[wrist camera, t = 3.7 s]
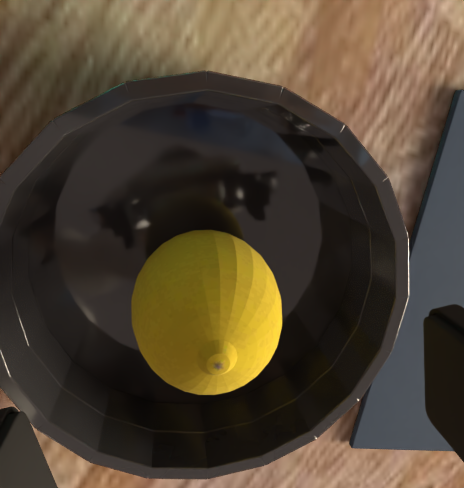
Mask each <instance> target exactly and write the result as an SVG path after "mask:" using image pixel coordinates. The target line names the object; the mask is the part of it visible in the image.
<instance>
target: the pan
mask: <svg viewBox="0 0 464 488" xmlns="http://www.w3.org/2000/svg"><path fill="white" fill-rule="evenodd" d="M194 230H214V231H219V232H225V233H228V234H230V235H232V236H234V237H237V238H239V239H241V240H243V241H245V242H246V243H247V244H248V245H249V246H251V247H252V248H253V249H254V250H255V251H256V252H258V253H259V254H260V255H261V257H262V258H263V259H264V261H265V262H266V264H267V265H268V267H269V268H270V270H271V271H272V273H273V275H274V278H275V281H276V284H277V287H278V290H279V293H280V296H281V304H282V329H281V333H280V337H279V342H278V345H277V348H276V350H275V352H274V354H273V356H272V358H271V360H270V361H269V363H268V364H267V365H266V366H265V368H264V369H263V370H262V371H261V372H260V373H259V374H258V376H256V377H255V378H254V379H252V380H251V381H250V382H248V383H247V384H245V385H244V386H241V387H239V388H237V389H235V390H233V391H230V392H226V393H221V394H216V395H198V394H194V393H189V392H185V391H182V390H180V389H178V388H176V387H174V386H172V385H170V384H168V383H167V382H165V381H164V380H163V379H162V378H161V377H160V376H158V375H157V374H156V373H155V372H154V371H153V370H152V369H151V367H150V366H149V364H148V363H147V361H146V360H145V358H144V357H143V355H142V353H141V351H140V349H139V346H138V343H137V340H136V337H135V334H134V331H133V327H132V312H131V300H132V295H133V291H134V287H135V283H136V279H137V276H138V274H139V273H140V271H141V269H142V267H143V266H144V264H145V262H146V261H147V259H148V258H149V257H150V256H151V255H152V254H153V253H154V252H155V251H156V250H157V249H158V248H159V247H160V246H161V245H162V244H163V243H165V242H167V241H168V240H170V239H172V238H173V237H175V236H177V235H180V234H183V233H187V232H190V231H194ZM408 299H409V235H408V232H407V229H406V226H405V224H404V221H403V218H402V215H401V212H400V209H399V206H398V203H397V200H396V197H395V195H394V192H393V189H392V186H391V183H390V180H389V178H387V175H386V174H385V172H384V171H383V170H382V169H381V167H380V166H379V165H378V164H377V162H376V161H375V160H374V159H373V157H372V156H371V155H370V154H369V152H368V151H367V150H366V149H365V147H364V146H363V145H362V144H361V142H360V141H359V140H358V139H357V137H356V136H355V135H354V134H353V133H352V131H351V130H350V129H349V128H348V126H346V125H345V124H344V123H343V122H341V121H340V120H338V119H336V118H335V117H333V116H331V115H330V114H328V113H327V112H325V111H323V110H322V109H320V108H318V107H317V106H315V105H313V104H312V103H310V102H308V101H307V100H305V99H304V98H302V97H300V96H299V95H297V94H295V93H294V92H292V91H290V90H289V89H287V88H285V87H282V86H280V85H275V84H270V83H265V82H260V81H256V80H251V79H246V78H241V77H236V76H231V75H227V74H222V73H217V72H212V71H207V72H206V71H198V72H190V73H183V74H176V75H168V76H161V77H154V78H146V79H139V80H132V81H126V83H121V84H119V85H117V86H115V87H113V88H111V89H110V90H108V91H106V92H104V93H102V94H100V95H98V96H96V97H94V98H92V99H90V100H88V101H86V102H84V103H83V104H81V105H79V106H77V107H75V108H73V109H71V110H69V111H67V112H65V113H63V114H61V115H59V116H57V117H56V118H54V119H53V121H50V122H49V123H48V124H47V125H46V126H45V127H44V128H43V130H42V131H41V132H40V133H39V134H38V135H37V136H36V137H35V138H34V139H33V141H32V142H31V143H30V144H29V145H28V146H27V147H26V148H25V149H24V150H23V151H22V153H21V154H20V155H19V156H18V157H17V158H16V159H15V160H14V161H13V162H12V164H11V165H10V166H9V167H8V168H7V169H6V170H5V171H4V172H3V173H2V174H1V176H0V388H1V389H2V390H3V391H4V393H5V394H6V395H7V396H8V397H9V398H10V400H11V401H12V402H13V403H14V404H15V405H16V407H17V408H18V409H19V410H20V411H23V412H25V413H26V415H27V417H28V419H29V421H30V423H31V424H32V425H33V426H34V428H36V429H37V430H38V431H39V432H41V433H43V434H44V435H46V436H48V437H49V438H51V439H52V440H54V441H56V442H57V443H59V444H61V445H62V446H64V447H65V448H67V449H69V450H70V451H72V452H74V453H75V454H77V455H78V456H80V457H82V458H83V459H85V460H87V461H89V462H90V463H93V464H97V465H101V466H104V467H108V468H111V469H115V470H119V471H122V472H126V473H129V474H133V475H137V476H140V477H144V478H149V479H207V478H208V479H211V478H215V477H219V476H223V475H228V474H232V473H236V472H240V471H244V470H249V469H253V468H257V467H261V466H264V465H267V464H269V463H271V462H273V461H275V460H277V459H279V458H281V457H283V456H285V455H287V454H289V453H291V452H293V451H295V450H297V449H298V448H300V447H302V446H304V445H306V444H308V443H310V442H312V441H314V440H316V438H318V437H319V436H320V435H322V434H323V433H324V432H325V431H326V430H327V429H328V428H330V427H331V426H332V425H333V424H334V423H335V422H336V421H337V420H339V419H340V418H341V417H342V416H343V415H344V414H345V413H347V412H348V411H349V410H350V409H351V408H352V407H353V406H354V405H356V404H357V403H358V402H359V400H361V398H362V397H363V395H364V394H365V392H366V391H367V389H368V388H369V386H370V385H371V383H372V382H373V380H374V379H375V377H376V376H377V374H378V373H379V371H380V370H381V368H382V367H383V365H384V364H385V362H386V361H387V359H388V358H389V356H390V355H391V352H392V350H393V347H394V344H395V341H396V338H397V334H398V331H399V328H400V325H401V322H402V318H403V315H404V312H405V309H406V306H407V303H408Z"/></svg>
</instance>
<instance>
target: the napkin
mask: <svg viewBox="0 0 464 488" xmlns="http://www.w3.org/2000/svg"><path fill="white" fill-rule="evenodd" d="M452 304H457V305H460V306H461V307H463V308H464V90H456V91H455V94H454V98H453V101H452V104H451V108H450V111H449V114H448V117H447V121H446V124H445V127H444V131H443V134H442V137H441V141H440V144H439V147H438V151H437V154H436V157H435V161H434V164H433V167H432V171H431V174H430V177H429V180H428V184H427V187H426V190H425V194H424V197H423V200H422V204H421V207H420V210H419V214H418V217H417V220H416V224H415V227H414V230H413V233H412V237H411V240H410V243H409V299H408V303H407V306H406V309H405V312H404V315H403V318H402V322H401V325H400V328H399V331H398V334H397V338H396V341H395V344H394V347H393V350H392V352H391V355H390V356H389V358H388V359H387V361H386V362H385V364H384V365H383V367H382V368H381V370H380V371H379V373H378V374H377V376H376V377H375V379H374V380H373V382H372V383H371V385H370V386H369V388H368V389H367V391H366V392H365V394H364V396H363V399H362V403H361V406H360V409H359V413H358V416H357V419H356V422H355V426H354V429H353V432H352V436H351V439H350V442H349V444H350V446H351V448H363V449H397V450H431V451H454V450H453V449H452V447H451V446H450V445H449V444H448V443H447V441H446V440H445V439H444V438H443V437H442V435H441V434H440V433H439V432H438V431H437V429H436V428H435V427H434V426H433V425H432V423H431V422H430V420H429V418H428V416H427V413H426V410H425V380H424V332H423V322H424V318H425V317H428V316H429V312H430V310H432V309H435V308H439V307H443V306H448V305H452Z"/></svg>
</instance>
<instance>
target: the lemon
mask: <svg viewBox="0 0 464 488" xmlns="http://www.w3.org/2000/svg"><path fill="white" fill-rule="evenodd" d="M131 312H132V327H133V331H134V334H135V337H136V340H137V343H138V346H139V349H140V351H141V353H142V355H143V357H144V358H145V360H146V361H147V363H148V364H149V366H150V367H151V369H152V370H153V371H154V372H155V373H156V374H157V375H158V376H160V377H161V378H162V379H163V380H164V381H165V382H167V383H168V384H170V385H172V386H174V387H176V388H178V389H180V390H182V391H185V392H189V393H194V394H198V395H216V394H221V393H226V392H230V391H233V390H235V389H237V388H239V387H241V386H244V385H245V384H247V383H248V382H250V381H251V380H252V379H254V378H255V377H256V376H258V374H259V373H260V372H261V371H262V370H263V369H264V368H265V366H266V365H267V364H268V363H269V361H270V360H271V358H272V356H273V354H274V352H275V350H276V348H277V345H278V342H279V337H280V333H281V329H282V304H281V296H280V293H279V290H278V287H277V284H276V281H275V278H274V275H273V273H272V271H271V270H270V268H269V267H268V265H267V264H266V262H265V261H264V259H263V258H262V257H261V255H260V254H259V253H258V252H256V251H255V250H254V249H253V248H252V247H251V246H249V245H248V244H247V243H246V242H245V241H243V240H241V239H239V238H237V237H234V236H232V235H230V234H228V233H225V232H219V231H214V230H194V231H190V232H187V233H183V234H180V235H177V236H175V237H173V238H172V239H170V240H168V241H167V242H165V243H163V244H162V245H161V246H160V247H159V248H158V249H157V250H156V251H155V252H154V253H153V254H152V255H151V256H150V257H149V258H148V259H147V261H146V262H145V264H144V266H143V267H142V269H141V271H140V273H139V274H138V276H137V279H136V283H135V287H134V291H133V295H132V300H131Z"/></svg>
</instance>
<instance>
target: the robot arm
mask: <svg viewBox="0 0 464 488" xmlns="http://www.w3.org/2000/svg"><path fill="white" fill-rule="evenodd" d="M423 332H424V380H425V410H426V413H427V416H428V418H429V420H430V422H431V423H432V425H433V426H434V427H435V428H436V429H437V431H438V432H439V433H440V434H441V435H442V437H443V438H444V439H445V440H446V441H447V443H448V444H449V445H450V446H451V447H452V449H453V450H454V451H455V452H456V453H457V455H458V456H459V457H460V458H461V459H462V461H463V462H464V308H463V307H461V306H460V305H457V304H452V305H448V306H443V307H439V308H435V309H432V310H430V312H429V316H428V317H425V318H424V322H423ZM0 488H58V487H57V485H56V483H55V480H54V478H53V476H52V473H51V471H50V469H49V466H48V464H47V462H46V459H45V457H44V454H43V452H42V450H41V447H40V445H39V443H38V440H37V438H36V436H35V433H34V431H33V428H32V426H31V424H30V421H29V419H28V417H27V415H26V413H25V412H23V411H20V412H18V410H17V409H16V408H15V407H8V408H3V409H0Z"/></svg>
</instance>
